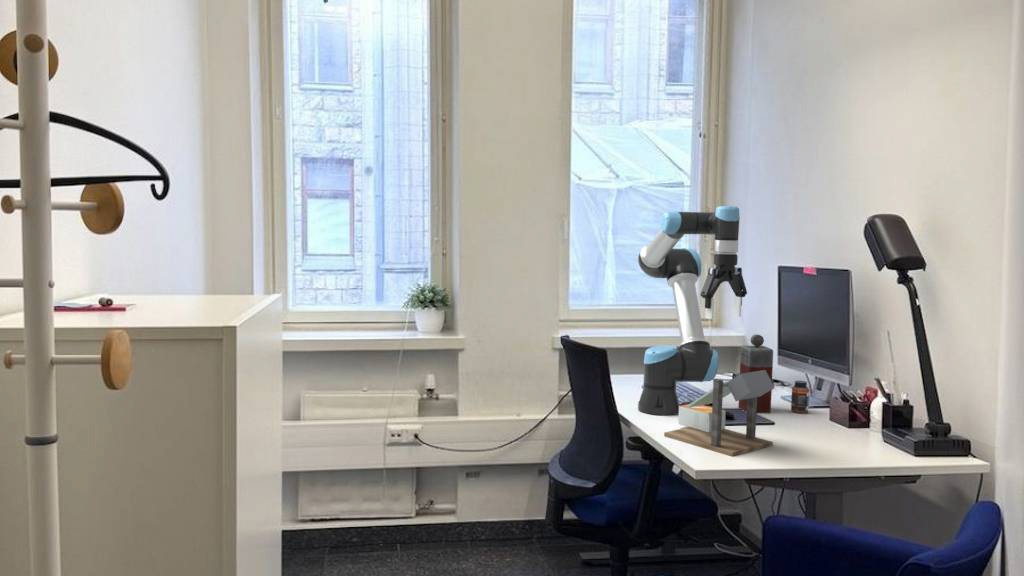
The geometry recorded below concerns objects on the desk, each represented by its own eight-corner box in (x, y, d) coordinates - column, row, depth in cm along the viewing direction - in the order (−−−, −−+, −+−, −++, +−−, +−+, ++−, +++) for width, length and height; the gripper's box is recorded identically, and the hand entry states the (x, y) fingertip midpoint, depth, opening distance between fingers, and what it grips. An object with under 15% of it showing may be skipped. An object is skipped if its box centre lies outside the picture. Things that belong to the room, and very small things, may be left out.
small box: (709, 413, 243) (678, 405, 253) (709, 433, 243) (677, 424, 254) (726, 410, 248) (694, 402, 258) (725, 429, 248) (694, 421, 258)
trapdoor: (724, 419, 245) (714, 400, 248) (776, 387, 229) (766, 367, 232) (695, 425, 237) (686, 405, 239) (748, 392, 221) (737, 371, 223)
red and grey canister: (759, 405, 288) (762, 332, 286) (771, 413, 277) (774, 336, 275) (736, 405, 287) (738, 332, 285) (746, 413, 276) (749, 336, 274)
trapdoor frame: (705, 427, 255) (707, 364, 253) (772, 445, 234) (775, 377, 233) (664, 436, 243) (666, 370, 241) (731, 456, 222) (734, 384, 221)
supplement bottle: (811, 413, 277) (813, 382, 276) (798, 414, 275) (799, 383, 275) (800, 409, 283) (802, 379, 282) (787, 410, 281) (788, 380, 280)
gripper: (741, 252, 262) (738, 313, 264) (690, 253, 248) (688, 318, 250) (759, 253, 256) (756, 316, 257) (708, 254, 242) (706, 320, 243)
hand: (723, 317), depth 254 cm, fingers open, 13 cm apart
